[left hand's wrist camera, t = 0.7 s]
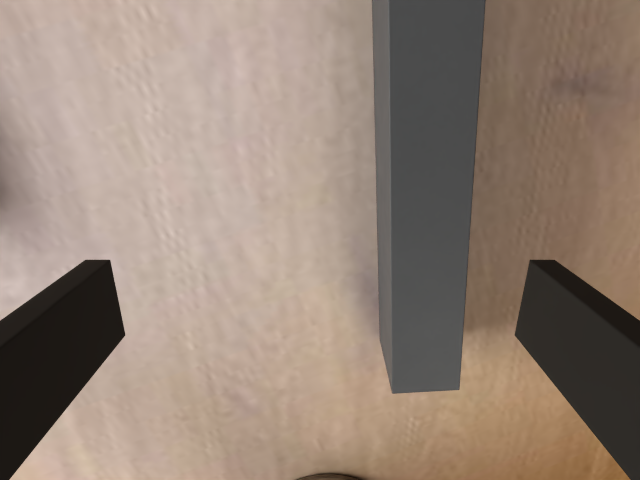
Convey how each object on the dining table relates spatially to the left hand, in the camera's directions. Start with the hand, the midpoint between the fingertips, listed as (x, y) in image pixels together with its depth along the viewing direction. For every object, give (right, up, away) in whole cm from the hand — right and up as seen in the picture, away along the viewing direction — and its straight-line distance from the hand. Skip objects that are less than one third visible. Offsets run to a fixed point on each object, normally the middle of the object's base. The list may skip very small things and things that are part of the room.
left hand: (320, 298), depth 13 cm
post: (+7, +16, +17) cm, 24 cm away
